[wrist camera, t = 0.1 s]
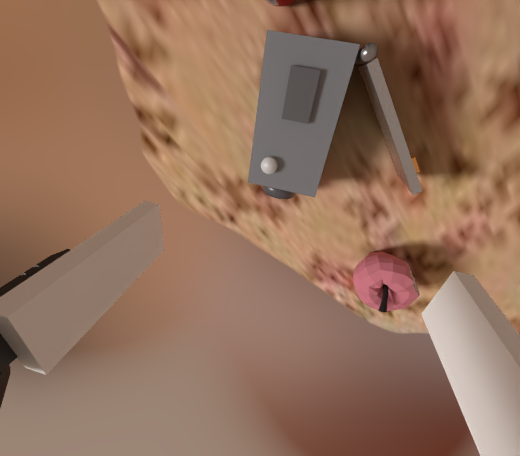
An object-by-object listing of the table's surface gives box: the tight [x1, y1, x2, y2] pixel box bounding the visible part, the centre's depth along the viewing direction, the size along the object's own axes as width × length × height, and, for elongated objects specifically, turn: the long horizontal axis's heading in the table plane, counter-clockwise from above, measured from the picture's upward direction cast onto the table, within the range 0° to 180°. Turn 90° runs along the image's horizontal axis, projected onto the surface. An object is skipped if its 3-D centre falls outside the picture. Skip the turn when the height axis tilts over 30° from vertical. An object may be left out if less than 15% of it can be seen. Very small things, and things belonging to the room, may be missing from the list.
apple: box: [353, 251, 420, 312], centre depth 38 cm, size 10×9×10 cm
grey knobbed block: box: [248, 30, 360, 199], centre depth 31 cm, size 18×9×8 cm, turn 171°
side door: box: [355, 43, 422, 194], centre depth 28 cm, size 16×2×7 cm, turn 31°
